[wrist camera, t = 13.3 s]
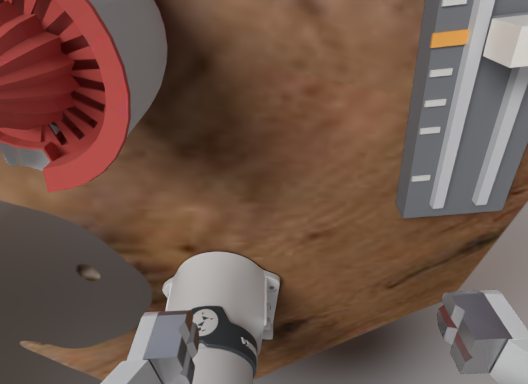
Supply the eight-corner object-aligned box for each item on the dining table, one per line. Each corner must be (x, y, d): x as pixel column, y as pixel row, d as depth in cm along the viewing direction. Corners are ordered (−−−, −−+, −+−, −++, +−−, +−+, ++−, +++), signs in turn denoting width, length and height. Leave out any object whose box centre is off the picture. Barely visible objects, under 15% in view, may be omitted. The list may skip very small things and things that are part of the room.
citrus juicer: (27, 96, 37) (-167, 209, 20) (8, -106, 27) (-386, -204, 11) (170, 136, 39) (103, 263, 23) (199, -36, 30) (119, -27, 13)
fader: (521, 48, 31) (562, 62, 26) (476, 53, 31) (509, 68, 27) (533, 11, 29) (578, 20, 25) (485, 16, 29) (522, 26, 25)
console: (488, 196, 44) (506, 215, 41) (394, 204, 45) (404, 223, 42) (590, -105, 27) (635, -113, 24) (435, -84, 28) (458, -89, 24)
